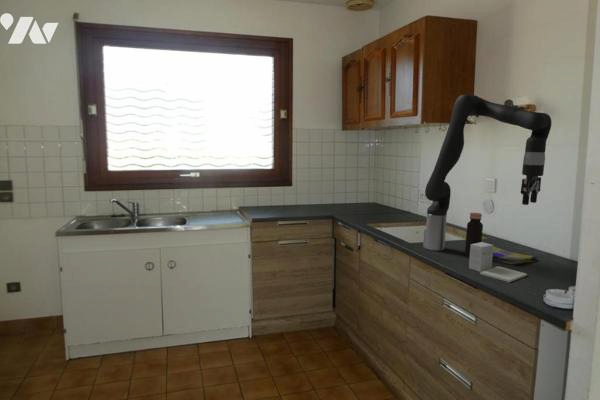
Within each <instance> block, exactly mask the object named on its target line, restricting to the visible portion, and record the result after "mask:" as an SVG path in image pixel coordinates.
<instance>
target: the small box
mask: <svg viewBox="0 0 600 400" xmlns="http://www.w3.org/2000/svg"><path fill="white" fill-rule="evenodd" d="M493 246H494V244H492V243H491V244H490V243H488V242H483V241H482V242H480V243H475V244H471V247H470V257H469V261H468V262H469V263H468V268H469V269H470V270H473V271H477V272H479V273H480V272H482V271H485V270H488V269H491V268H493V267H492V265H493V259H492V257H493Z"/></svg>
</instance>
